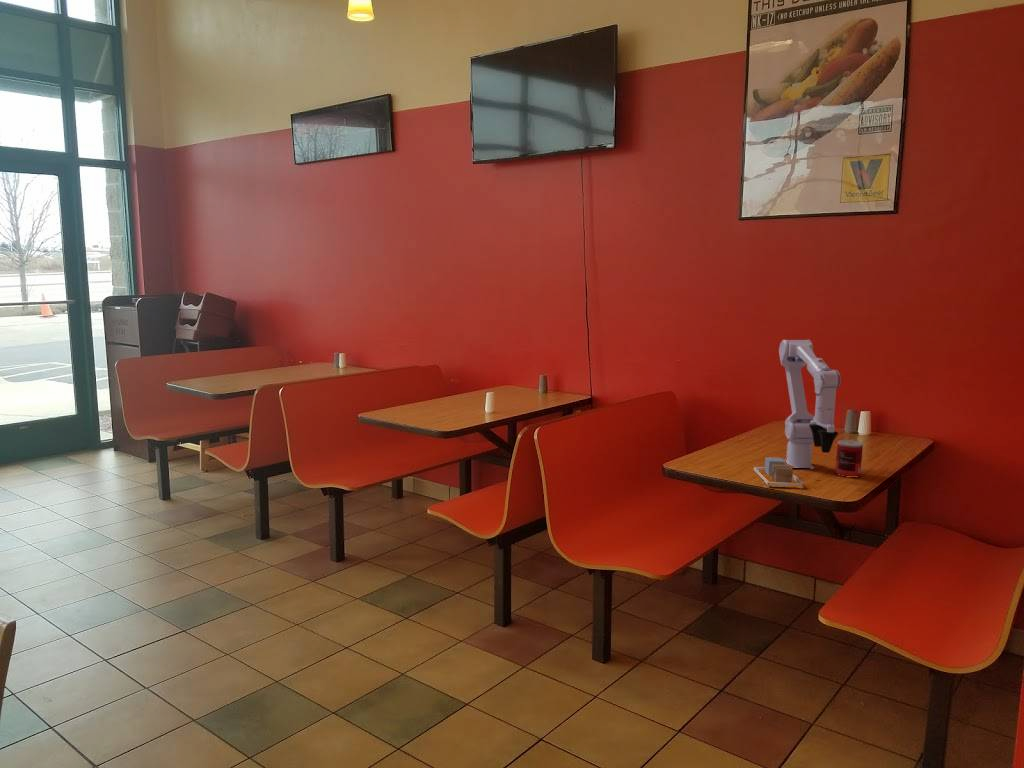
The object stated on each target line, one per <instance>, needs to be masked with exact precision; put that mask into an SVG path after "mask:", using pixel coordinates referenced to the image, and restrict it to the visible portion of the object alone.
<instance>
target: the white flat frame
mask: <svg viewBox="0 0 1024 768" xmlns="http://www.w3.org/2000/svg"><path fill="white" fill-rule="evenodd" d="M753 470H754V471H755V472H756V473H757V474H758V475H759V476H760V477H761V478H762V479H763V480H764V482H765V483H766V484H767V485H779V486H802V487H803V488H804V485H805V484H804V482H803V481H801V479H800V478H798V476H797V475H795V474H794V473H793V472H792V478H794V480H795V481H796V482H797V483H784V482H769V481H768V480H767V479H766V478H765V477H764V476H763V475H762V474H761V473H760V472H759V470H765V466H753ZM753 470H752V471H753Z"/></svg>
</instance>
